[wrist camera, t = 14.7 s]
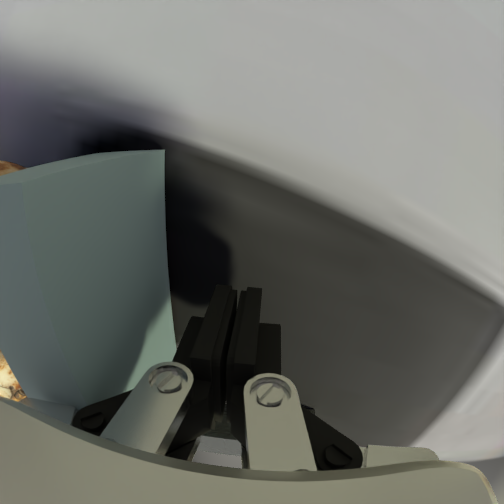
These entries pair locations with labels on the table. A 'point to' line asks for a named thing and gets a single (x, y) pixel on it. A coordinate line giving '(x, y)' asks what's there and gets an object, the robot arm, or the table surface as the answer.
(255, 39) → the table surface
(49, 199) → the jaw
